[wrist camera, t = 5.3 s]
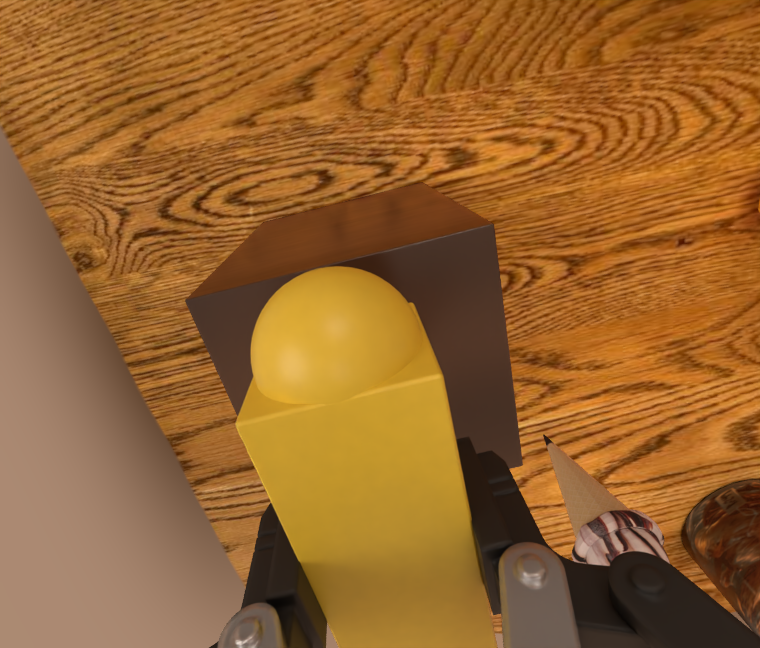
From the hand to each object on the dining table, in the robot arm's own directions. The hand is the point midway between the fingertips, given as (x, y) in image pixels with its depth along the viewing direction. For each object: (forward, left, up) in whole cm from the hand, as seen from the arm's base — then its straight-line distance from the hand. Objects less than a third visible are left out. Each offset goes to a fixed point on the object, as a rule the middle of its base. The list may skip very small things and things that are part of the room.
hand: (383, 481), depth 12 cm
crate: (0, 0, -20) cm, 20 cm away
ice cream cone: (+18, +12, -20) cm, 29 cm away
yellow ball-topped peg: (0, 0, -1) cm, 1 cm away
